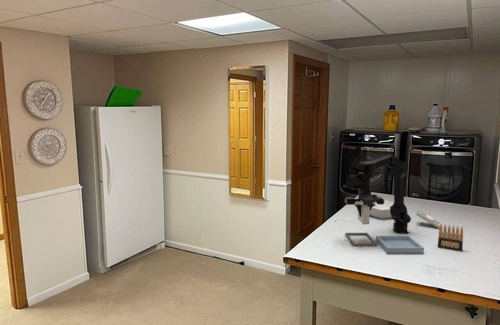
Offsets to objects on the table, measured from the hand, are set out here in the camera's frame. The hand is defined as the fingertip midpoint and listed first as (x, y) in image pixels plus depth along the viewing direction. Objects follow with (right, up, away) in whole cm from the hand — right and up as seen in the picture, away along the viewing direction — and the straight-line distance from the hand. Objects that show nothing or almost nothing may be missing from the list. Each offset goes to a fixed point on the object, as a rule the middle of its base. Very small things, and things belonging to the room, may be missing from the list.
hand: (363, 216), depth 192 cm
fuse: (0, -3, 0) cm, 2 cm away
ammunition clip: (+39, -14, -10) cm, 43 cm away
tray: (+15, -14, -8) cm, 22 cm away
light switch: (+46, -9, +26) cm, 53 cm away
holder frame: (-1, -13, +2) cm, 13 cm away
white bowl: (+26, -6, +47) cm, 54 cm away
